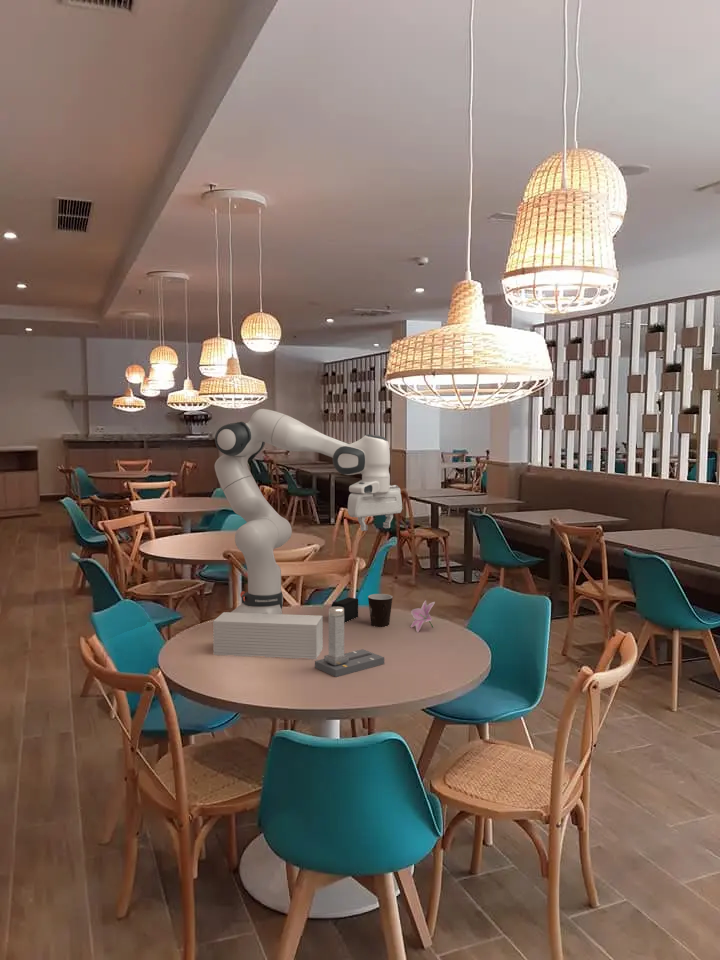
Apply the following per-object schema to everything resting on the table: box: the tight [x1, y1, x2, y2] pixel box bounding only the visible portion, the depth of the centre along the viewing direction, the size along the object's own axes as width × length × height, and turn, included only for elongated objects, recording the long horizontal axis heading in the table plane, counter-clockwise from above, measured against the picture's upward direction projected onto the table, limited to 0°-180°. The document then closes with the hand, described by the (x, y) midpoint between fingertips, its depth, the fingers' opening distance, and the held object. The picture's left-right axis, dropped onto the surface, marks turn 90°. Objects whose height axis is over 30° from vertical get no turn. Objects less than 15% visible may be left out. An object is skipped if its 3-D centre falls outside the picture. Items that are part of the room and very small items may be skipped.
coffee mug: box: [367, 593, 394, 628], centre depth 259 cm, size 12×9×10 cm
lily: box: [410, 600, 436, 634], centre depth 256 cm, size 12×12×10 cm
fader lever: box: [323, 606, 349, 666], centre depth 213 cm, size 5×5×16 cm
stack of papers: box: [212, 611, 324, 660], centre depth 230 cm, size 32×11×11 cm, turn 83°
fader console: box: [314, 648, 385, 678], centre depth 217 cm, size 18×10×2 cm, turn 129°
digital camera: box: [330, 596, 359, 624], centre depth 268 cm, size 10×5×7 cm, turn 150°
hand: (375, 529), depth 236 cm, fingers open, 8 cm apart
